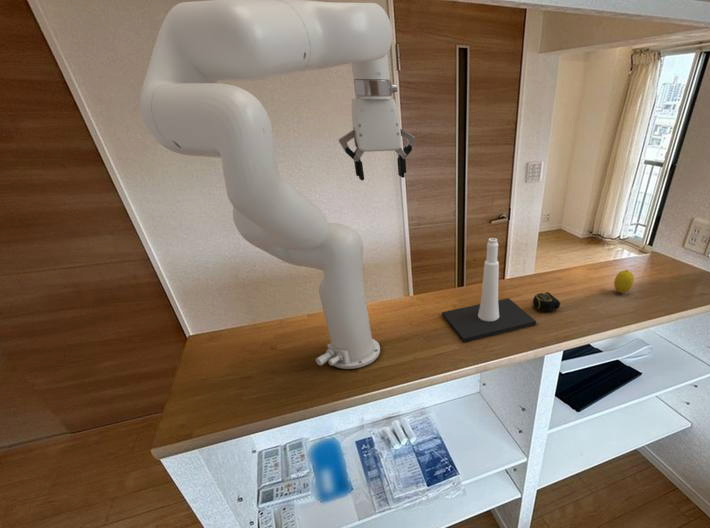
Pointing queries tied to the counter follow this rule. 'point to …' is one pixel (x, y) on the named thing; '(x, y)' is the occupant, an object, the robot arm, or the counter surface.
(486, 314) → the cosmetic bottle
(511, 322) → the mat
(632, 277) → the lemon
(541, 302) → the tape measure
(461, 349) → the counter surface
